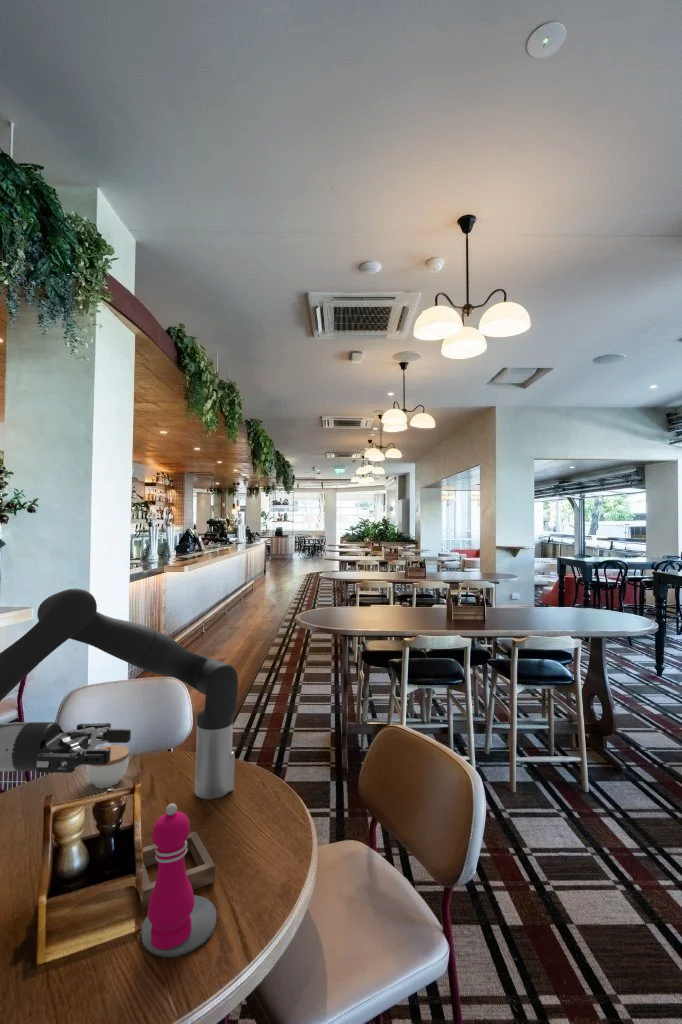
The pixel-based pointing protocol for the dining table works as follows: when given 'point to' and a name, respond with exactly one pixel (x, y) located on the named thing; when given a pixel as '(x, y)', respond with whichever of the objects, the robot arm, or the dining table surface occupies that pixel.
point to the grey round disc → (200, 929)
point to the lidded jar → (110, 767)
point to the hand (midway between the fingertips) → (120, 745)
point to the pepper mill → (171, 882)
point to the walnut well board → (195, 875)
